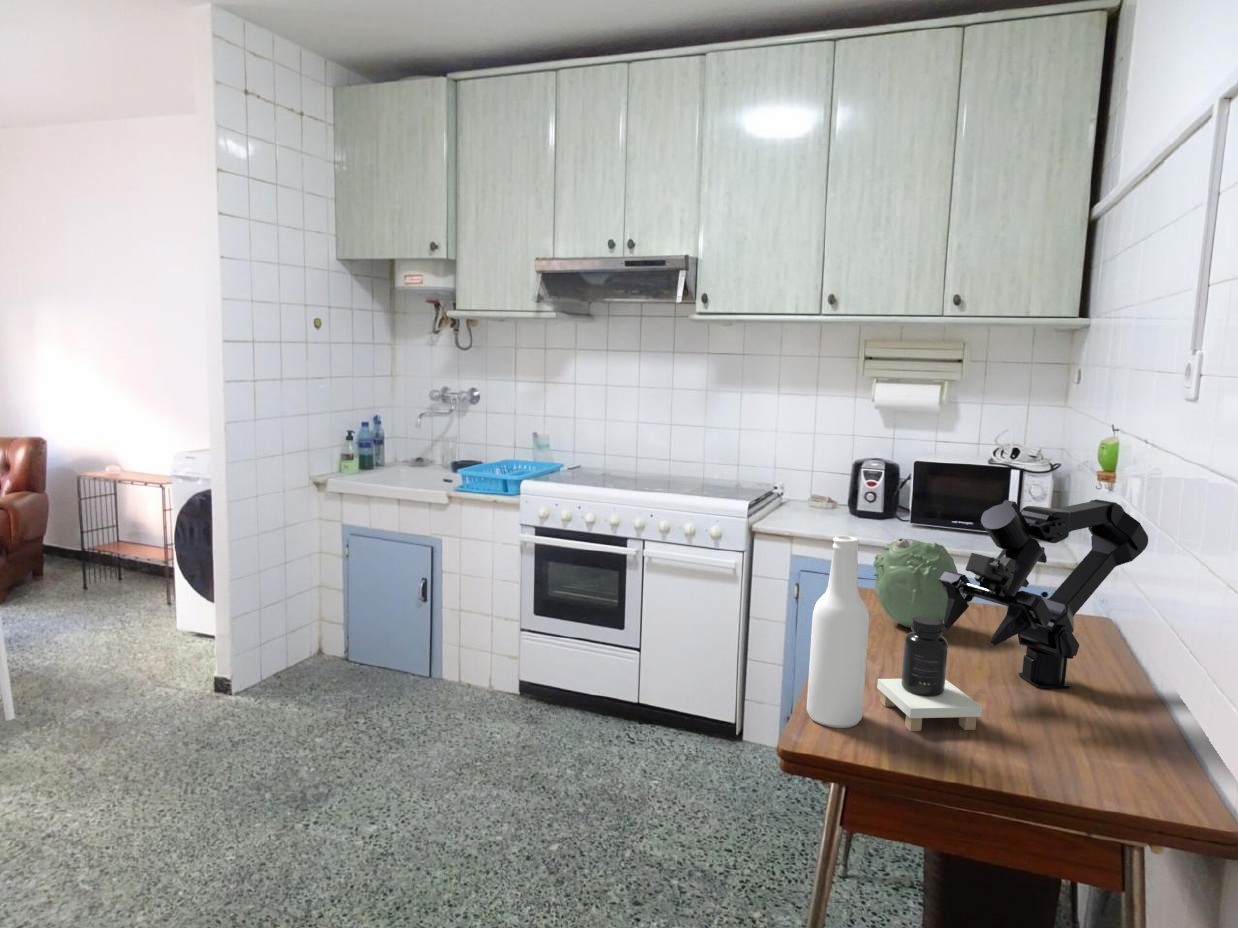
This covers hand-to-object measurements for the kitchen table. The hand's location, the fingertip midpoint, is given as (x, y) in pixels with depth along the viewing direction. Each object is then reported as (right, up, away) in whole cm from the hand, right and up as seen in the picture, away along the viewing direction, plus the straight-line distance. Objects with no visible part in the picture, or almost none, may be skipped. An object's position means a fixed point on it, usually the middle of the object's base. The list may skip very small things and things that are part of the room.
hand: (967, 635), depth 139 cm
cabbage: (+6, -7, +43) cm, 44 cm away
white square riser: (-8, -13, -4) cm, 15 cm away
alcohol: (-24, -12, -6) cm, 28 cm away
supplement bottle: (-9, -9, -3) cm, 13 cm away
